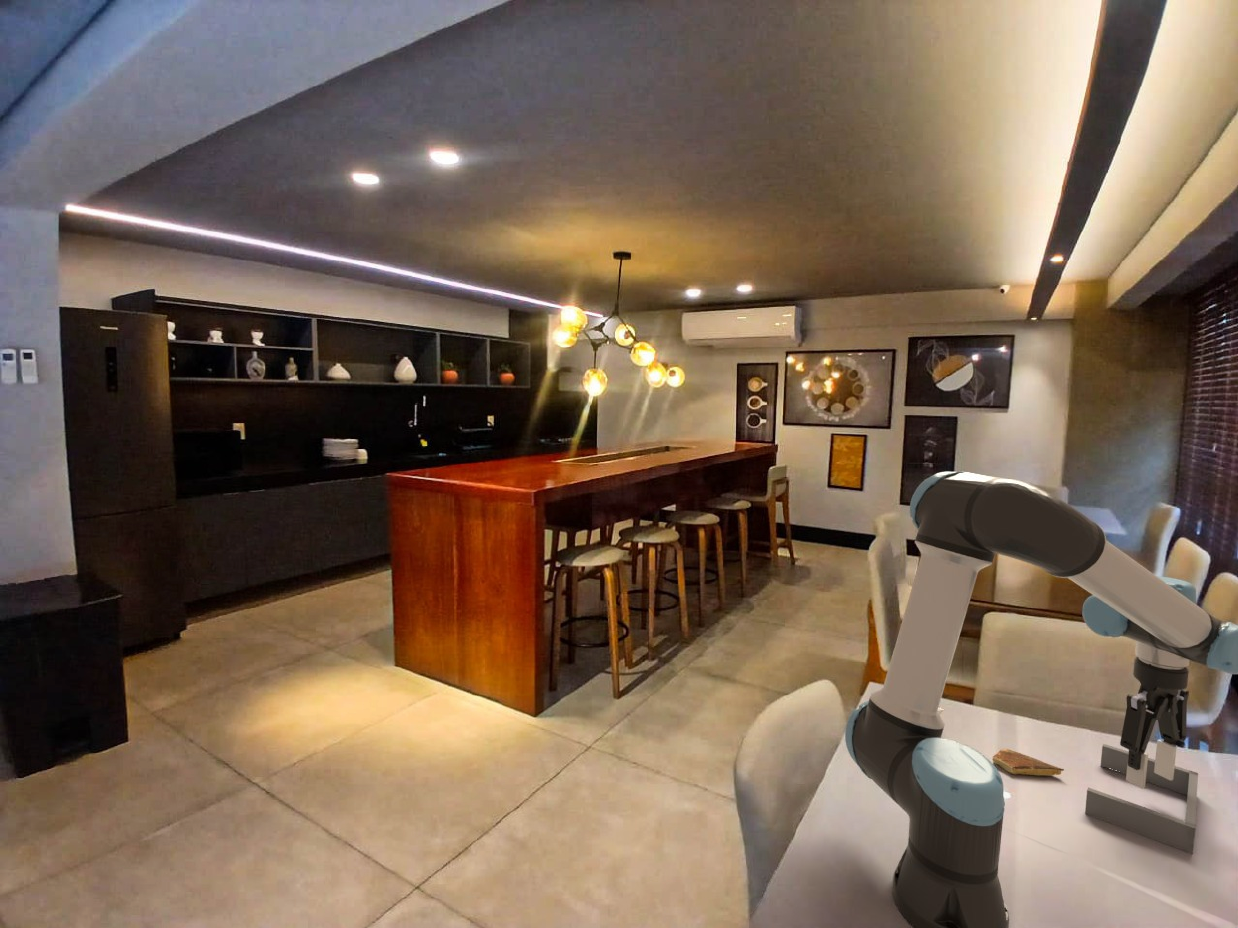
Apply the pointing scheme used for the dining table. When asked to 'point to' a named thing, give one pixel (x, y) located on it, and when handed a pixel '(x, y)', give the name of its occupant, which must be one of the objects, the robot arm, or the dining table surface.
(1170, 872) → the dining table surface
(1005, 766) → the shard
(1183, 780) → the box
